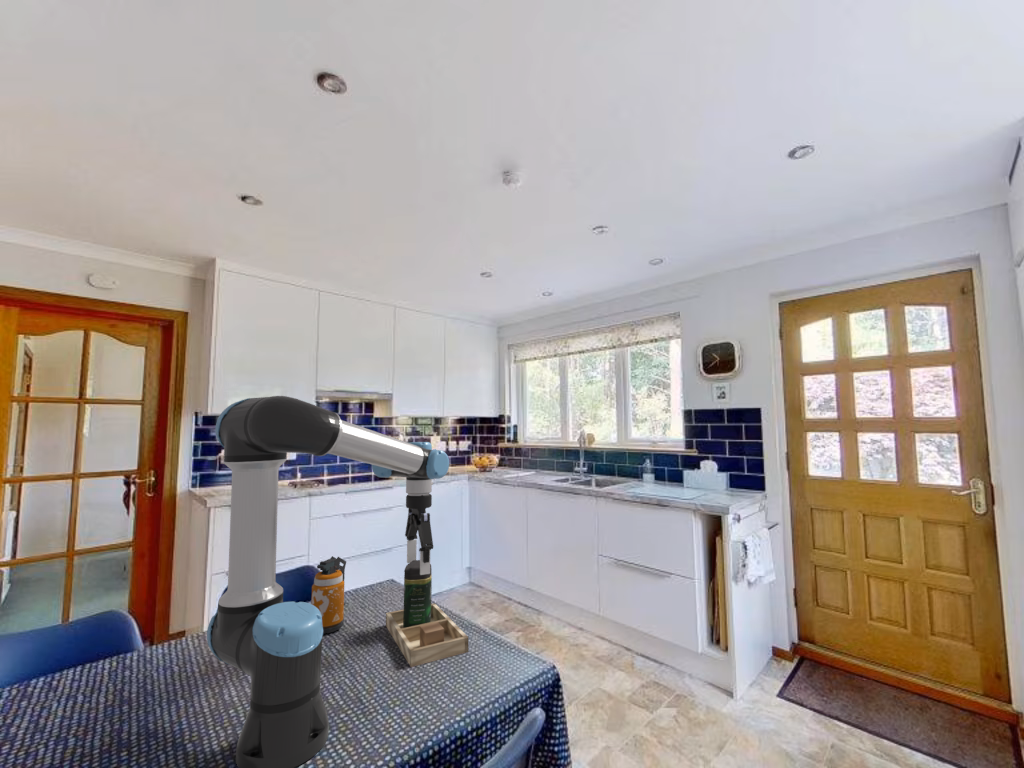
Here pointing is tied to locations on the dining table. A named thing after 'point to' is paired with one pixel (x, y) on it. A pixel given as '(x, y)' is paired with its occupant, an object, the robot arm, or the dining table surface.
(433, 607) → the slot rack
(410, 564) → the coffee jar
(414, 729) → the dining table surface
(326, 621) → the canister
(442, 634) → the walnut block
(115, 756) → the dining table surface
